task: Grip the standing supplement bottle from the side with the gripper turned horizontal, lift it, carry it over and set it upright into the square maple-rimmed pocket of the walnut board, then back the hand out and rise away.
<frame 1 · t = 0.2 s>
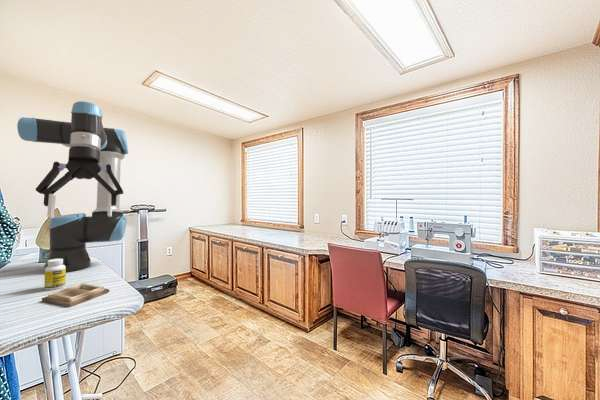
hand: (81, 216, 77), 27 cm above the table, tool tilted 15°, fingers open, 13 cm apart
supplement bottle: (55, 288, 92), on the table
walnut board: (77, 296, 85), on the table
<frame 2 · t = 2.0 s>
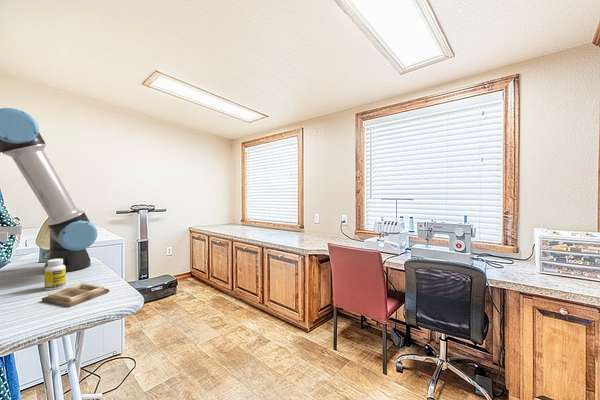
hand: (15, 233, 86), 20 cm above the table, tool horizontal, fingers open, 13 cm apart
nothing on the table moved.
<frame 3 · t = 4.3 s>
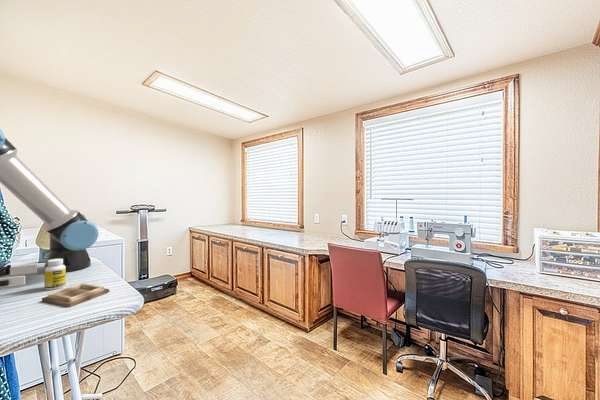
hand: (31, 273, 88), 6 cm above the table, tool horizontal, fingers open, 13 cm apart
nothing on the table moved.
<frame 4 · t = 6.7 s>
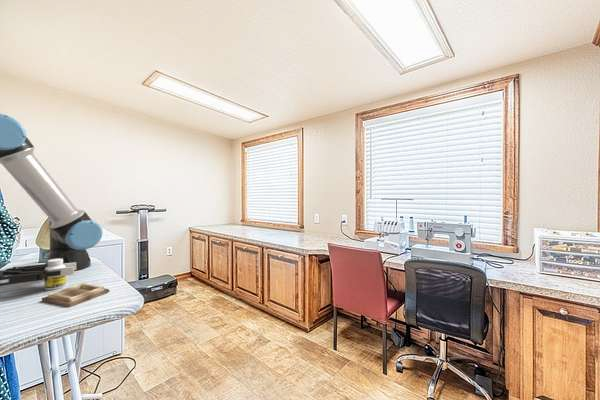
hand: (74, 268, 95), 6 cm above the table, tool horizontal, fingers closed on supplement bottle, 5 cm apart
supplement bottle: (55, 287, 92), on the table, touching gripper
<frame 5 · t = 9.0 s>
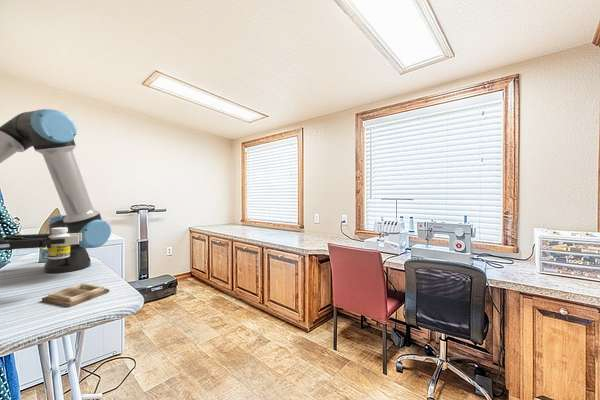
hand: (80, 238, 89), 18 cm above the table, tool horizontal, fingers closed on supplement bottle, 5 cm apart
supplement bottle: (59, 258, 86), point 12 cm above the table, touching gripper
when the fingers open (8 cm above the table, at t = 11.5 s): supplement bottle drops 1 cm, resting on walnut board.
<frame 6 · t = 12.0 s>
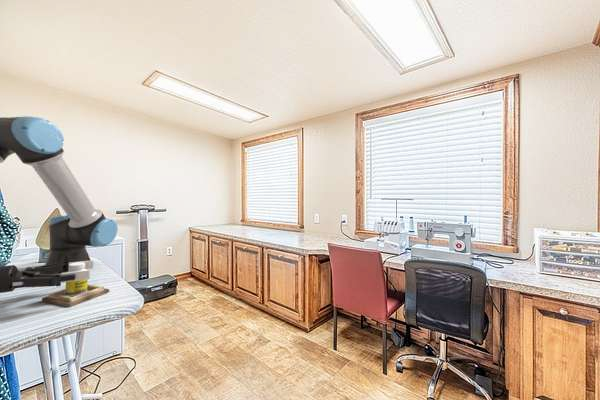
hand: (91, 269, 87), 8 cm above the table, tool horizontal, fingers open, 12 cm apart
supplement bottle: (76, 294, 85), point 1 cm above the table, touching walnut board
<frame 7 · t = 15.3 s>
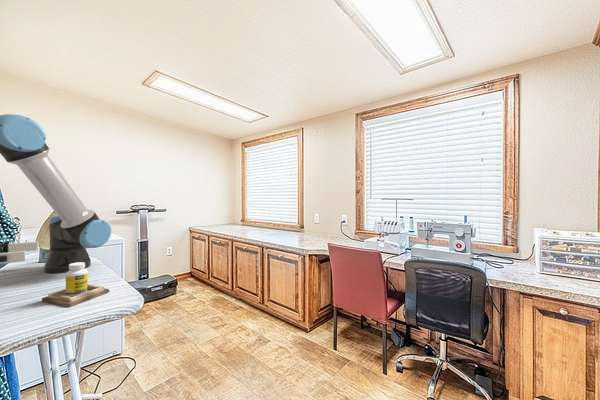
hand: (32, 250, 78), 16 cm above the table, tool horizontal, fingers open, 13 cm apart
nothing on the table moved.
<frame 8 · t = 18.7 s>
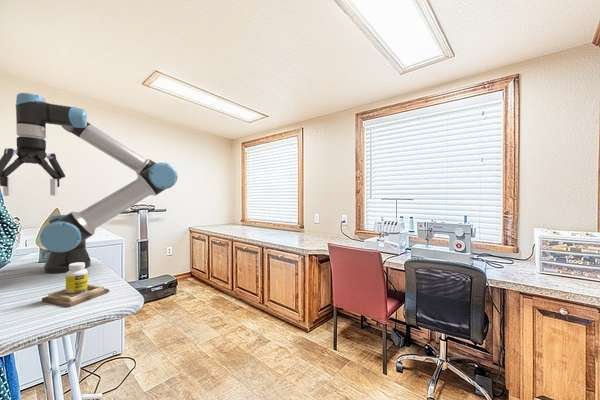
hand: (32, 195, 97), 32 cm above the table, tool pointing down, fingers open, 13 cm apart
nothing on the table moved.
at the end: supplement bottle 0.1 cm off-centre on the walnut board, point 0.8 cm above the walnut board's base; supplement bottle tilted 0°; the gripper is holding nothing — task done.
